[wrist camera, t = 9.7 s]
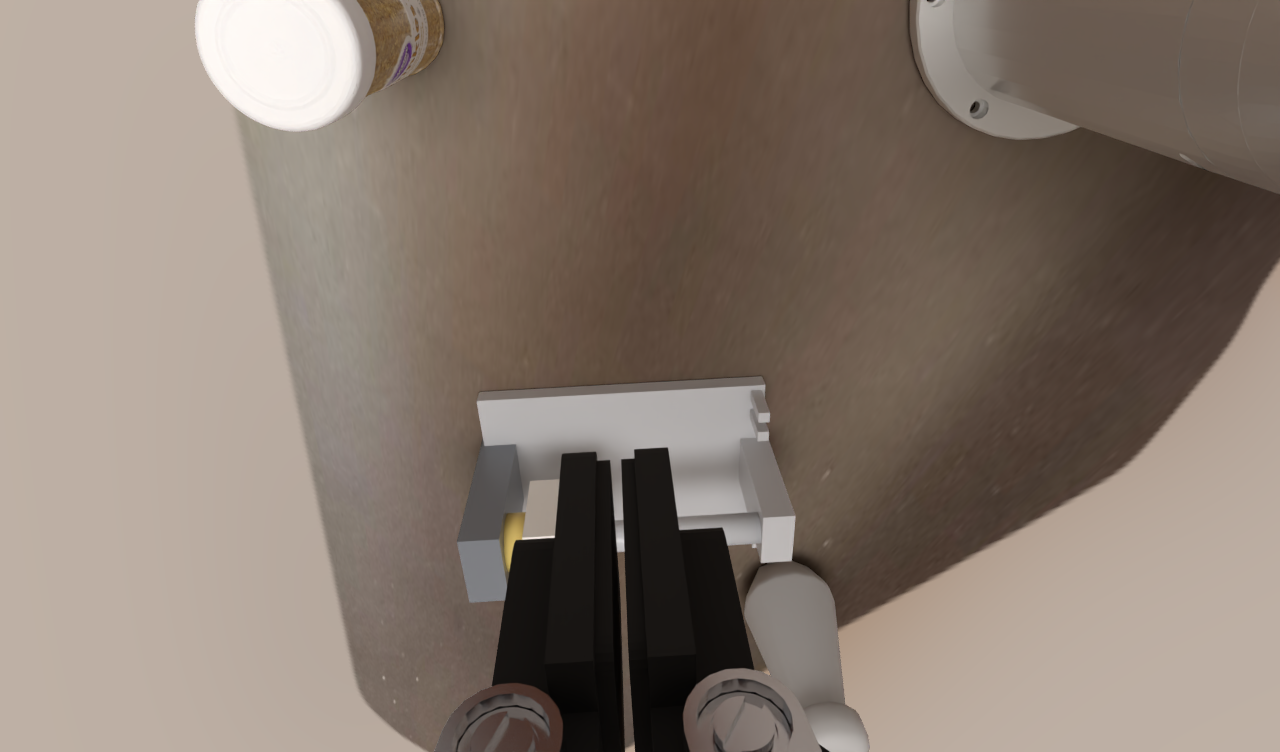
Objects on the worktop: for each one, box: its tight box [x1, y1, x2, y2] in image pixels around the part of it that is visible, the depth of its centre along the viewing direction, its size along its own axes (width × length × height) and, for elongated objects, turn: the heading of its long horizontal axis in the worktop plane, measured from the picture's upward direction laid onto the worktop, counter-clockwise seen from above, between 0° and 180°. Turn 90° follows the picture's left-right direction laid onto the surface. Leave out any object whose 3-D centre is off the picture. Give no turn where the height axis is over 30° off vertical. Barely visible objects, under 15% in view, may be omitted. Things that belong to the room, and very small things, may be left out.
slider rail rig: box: [457, 376, 795, 602], centre depth 40 cm, size 16×10×9 cm, turn 92°
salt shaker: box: [744, 561, 870, 752], centre depth 44 cm, size 6×6×13 cm
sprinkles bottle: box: [195, 0, 444, 132], centre depth 26 cm, size 5×5×14 cm
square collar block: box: [522, 479, 559, 540], centre depth 36 cm, size 4×4×9 cm
